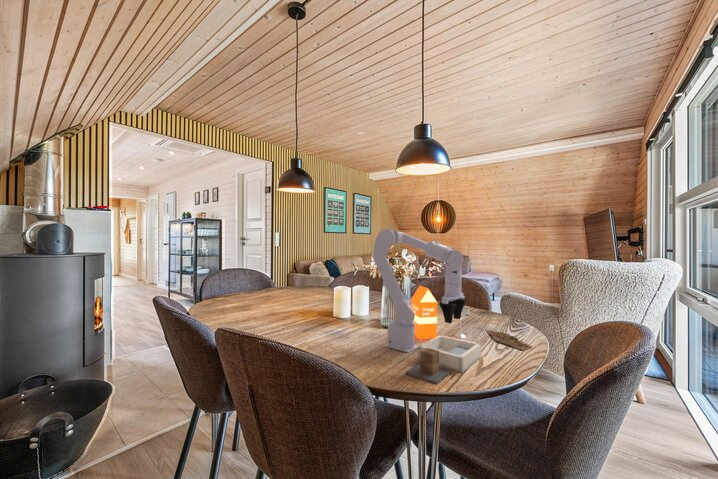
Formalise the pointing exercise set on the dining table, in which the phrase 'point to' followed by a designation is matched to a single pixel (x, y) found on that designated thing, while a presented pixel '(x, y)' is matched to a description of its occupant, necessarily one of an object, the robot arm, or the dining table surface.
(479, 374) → the dining table surface
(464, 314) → the wineglass
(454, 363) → the box
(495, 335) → the wooden fragment
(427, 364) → the walnut block
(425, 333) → the orange juice
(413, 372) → the place mat
